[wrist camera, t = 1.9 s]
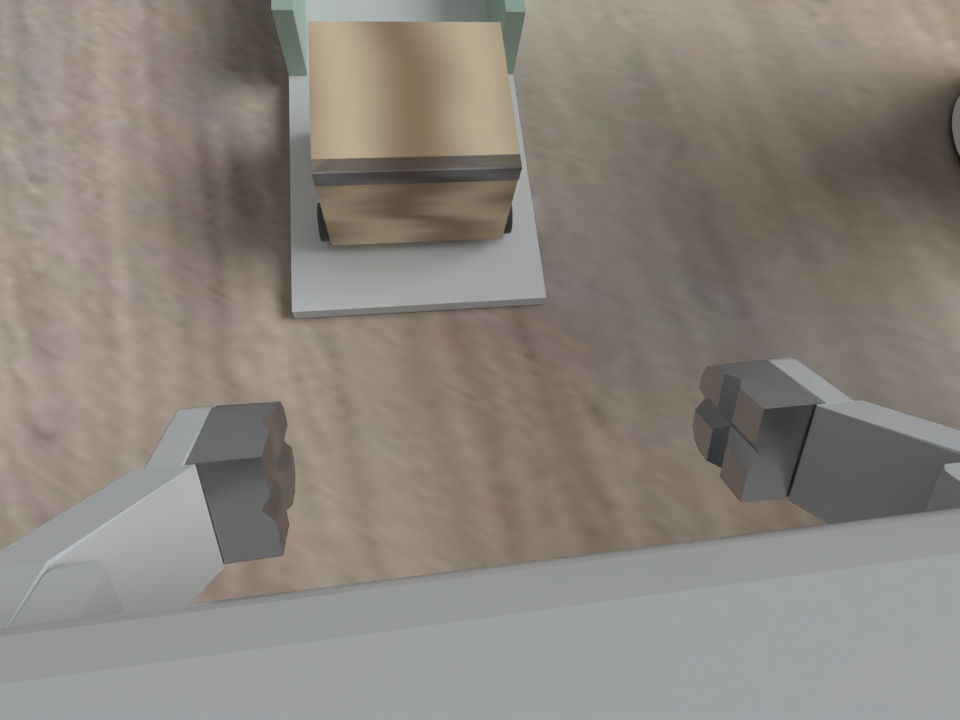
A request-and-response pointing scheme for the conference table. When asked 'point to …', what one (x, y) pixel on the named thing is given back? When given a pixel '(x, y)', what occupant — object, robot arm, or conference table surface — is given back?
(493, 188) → the wooden cart
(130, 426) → the conference table surface
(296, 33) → the dock
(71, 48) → the conference table surface
